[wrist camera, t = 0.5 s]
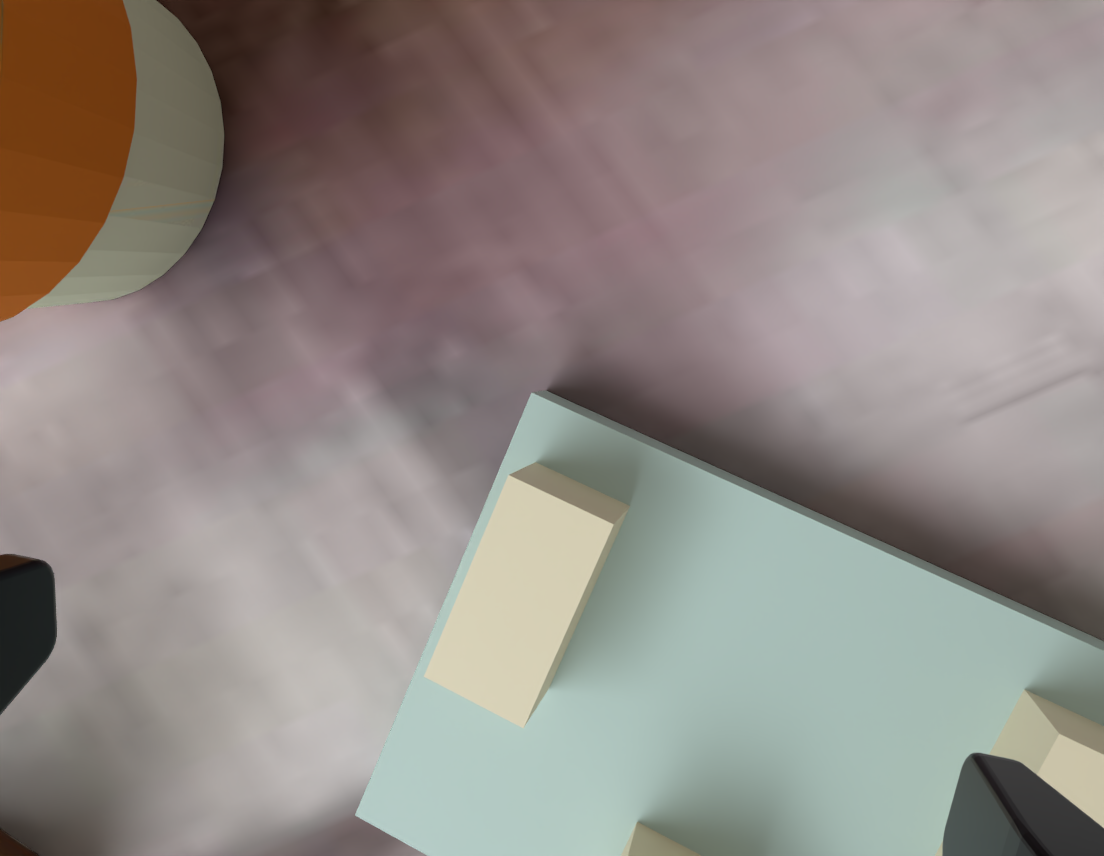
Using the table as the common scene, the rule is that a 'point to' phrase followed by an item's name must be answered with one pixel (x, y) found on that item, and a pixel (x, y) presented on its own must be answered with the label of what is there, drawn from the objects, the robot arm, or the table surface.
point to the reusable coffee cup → (100, 148)
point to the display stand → (711, 672)
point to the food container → (13, 846)
